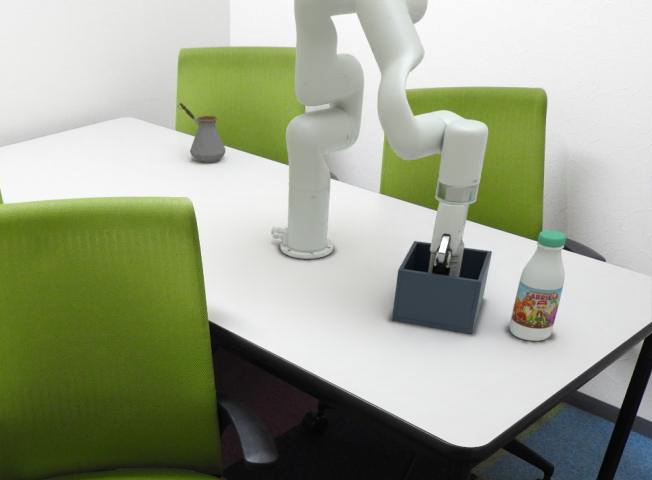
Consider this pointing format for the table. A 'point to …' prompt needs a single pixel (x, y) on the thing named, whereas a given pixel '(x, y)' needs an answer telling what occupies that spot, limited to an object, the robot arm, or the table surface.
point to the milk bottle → (539, 289)
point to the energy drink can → (454, 262)
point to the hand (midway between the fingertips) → (443, 275)
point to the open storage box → (440, 290)
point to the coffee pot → (206, 139)
